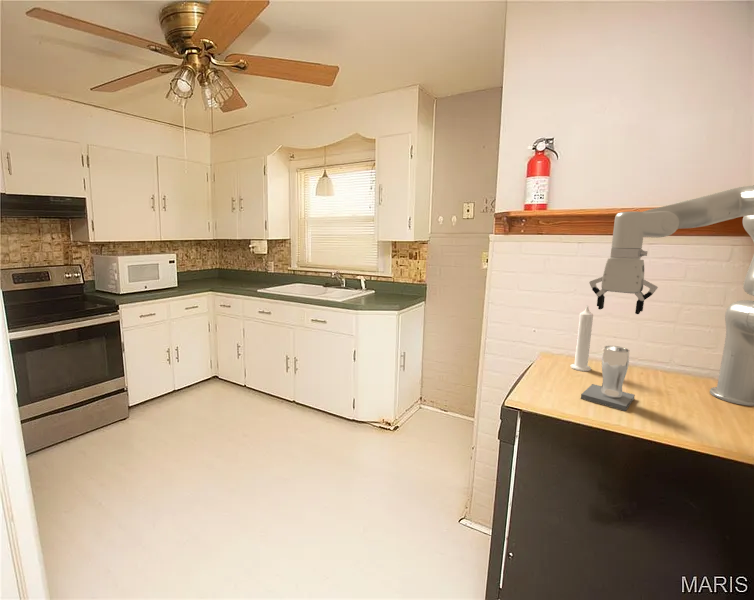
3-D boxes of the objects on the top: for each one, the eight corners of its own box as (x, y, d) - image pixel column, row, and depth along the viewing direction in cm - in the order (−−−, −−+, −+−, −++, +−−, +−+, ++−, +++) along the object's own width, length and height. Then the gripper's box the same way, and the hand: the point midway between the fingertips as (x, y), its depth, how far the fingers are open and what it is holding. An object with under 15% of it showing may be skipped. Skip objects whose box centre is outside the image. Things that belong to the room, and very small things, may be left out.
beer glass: (614, 400, 113) (620, 353, 111) (593, 391, 119) (598, 346, 117) (629, 397, 116) (635, 350, 113) (607, 388, 122) (613, 344, 120)
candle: (593, 372, 142) (601, 307, 138) (573, 370, 143) (580, 306, 139) (587, 366, 149) (594, 304, 145) (568, 364, 150) (574, 303, 146)
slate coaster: (634, 399, 118) (634, 394, 118) (625, 411, 110) (626, 406, 109) (591, 388, 126) (592, 383, 126) (580, 398, 118) (581, 394, 118)
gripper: (663, 255, 107) (655, 313, 110) (596, 253, 119) (590, 305, 122) (659, 256, 102) (651, 317, 105) (589, 253, 114) (583, 308, 117)
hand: (618, 311), depth 113 cm, fingers open, 9 cm apart
